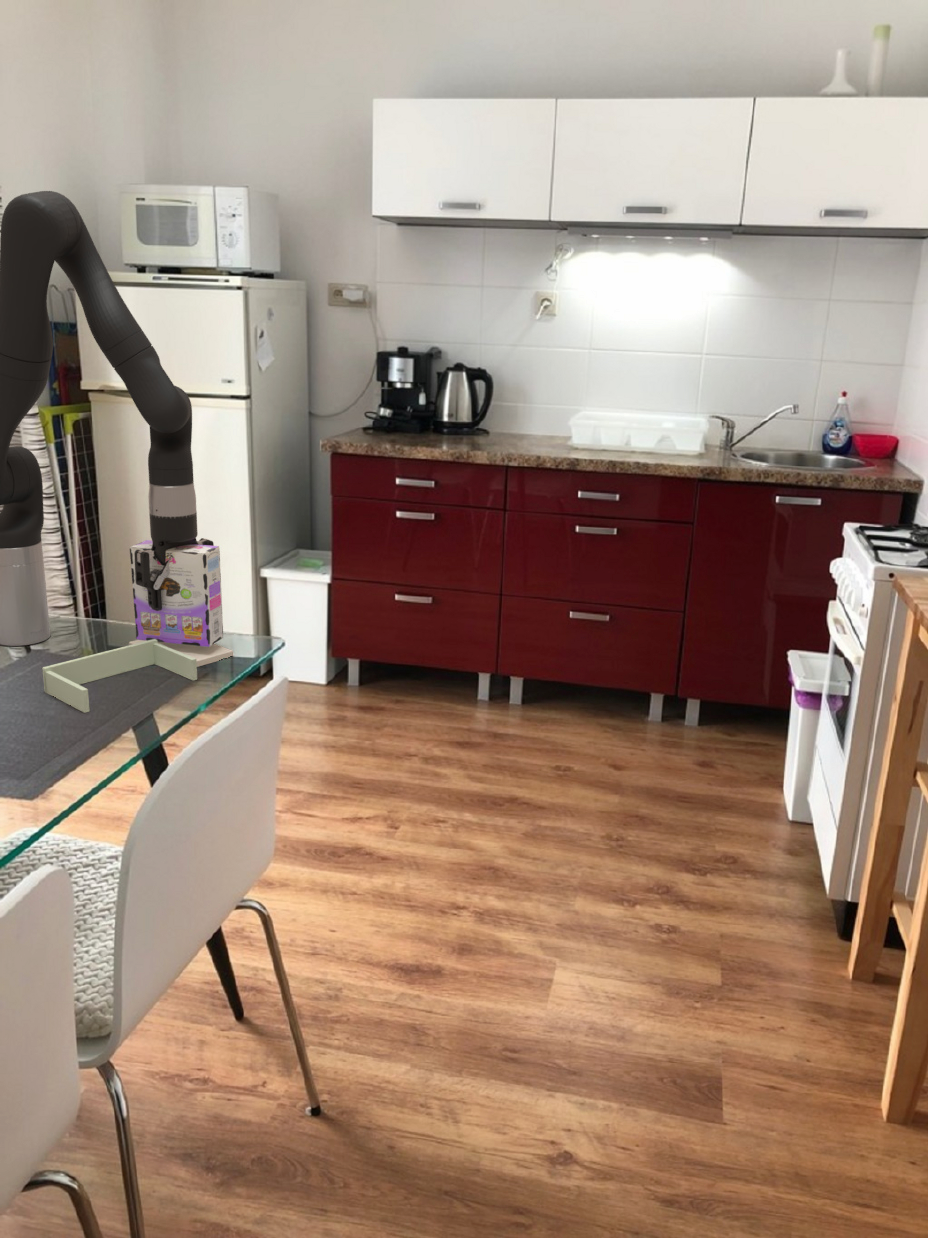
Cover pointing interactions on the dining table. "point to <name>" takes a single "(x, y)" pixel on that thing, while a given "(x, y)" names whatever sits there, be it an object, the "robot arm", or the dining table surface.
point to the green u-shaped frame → (111, 669)
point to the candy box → (182, 597)
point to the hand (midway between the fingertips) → (177, 604)
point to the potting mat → (198, 651)
